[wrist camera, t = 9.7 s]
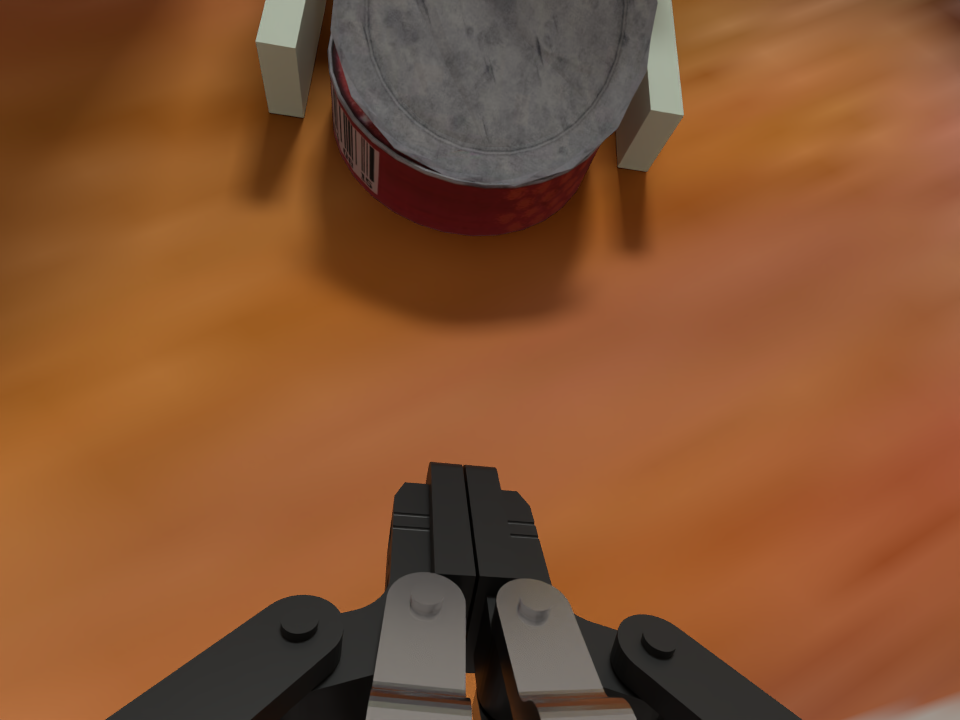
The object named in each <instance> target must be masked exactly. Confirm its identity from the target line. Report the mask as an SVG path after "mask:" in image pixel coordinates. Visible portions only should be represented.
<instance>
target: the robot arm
mask: <svg viewBox="0 0 960 720" xmlns="http://www.w3.org/2000/svg"><path fill="white" fill-rule="evenodd" d="M465 673H475V677H476V692H475V696H474V701H473V706H472V707H471V700H470V698H466V694H465ZM472 714H473V720H802V719H801V718H799V717H798V716H796V715H795V714H794V713H792V712H791V711H790V710H788V709H787V708H786V707H784V706H783V705H782V704H780V703H779V702H778V701H776V700H775V699H773V698H772V697H771V696H769V695H768V694H767V693H765V692H764V691H763V690H761V689H760V688H759V687H757V686H756V685H755V684H753V683H752V682H750V681H749V680H748V679H746V678H745V677H744V676H742V675H741V674H740V673H738V672H737V671H736V670H734V669H733V668H732V667H730V666H729V665H727V664H726V663H725V662H723V661H722V660H721V659H719V658H718V657H717V656H715V655H714V654H713V653H711V652H710V651H709V650H707V649H706V648H704V647H703V646H702V645H700V644H699V643H698V642H696V641H695V640H694V639H692V638H691V637H690V636H688V635H687V634H686V633H684V632H683V631H681V630H680V629H679V628H677V627H676V626H674V625H673V624H671V623H670V622H668V621H666V620H664V619H661V618H659V617H655V616H651V615H633V616H630V617H628V618H626V619H624V620H623V621H622V622H621V624H620V626H619V628H618V630H615V629H612V628H608V627H605V626H602V625H599V624H596V623H593V622H590V621H587V620H585V619H583V618H581V617H579V616H577V615H575V614H574V613H573V611H572V608H571V606H570V604H569V602H568V600H567V599H566V598H565V596H564V595H563V594H562V593H561V592H560V591H559V590H557V589H556V588H554V587H553V586H552V585H551V581H550V577H549V574H548V570H547V566H546V563H545V559H544V556H543V552H542V548H541V545H540V541H539V539H538V534H537V530H536V527H535V526H534V519H533V516H532V512H531V508H530V506H529V505H528V504H527V502H526V501H525V500H524V499H523V498H522V497H521V495H520V494H519V493H518V492H517V491H505V490H501V487H500V483H499V478H498V473H497V469H496V468H495V467H483V466H472V465H464V466H462V465H459V464H448V463H437V462H430V463H429V467H428V473H427V480H426V484H419V483H406V482H405V483H404V484H403V486H402V487H401V488H400V489H399V491H398V492H397V493H396V495H395V497H394V504H393V512H392V520H391V527H390V535H389V543H388V550H387V565H386V580H385V592H384V594H383V595H382V596H381V597H380V598H379V599H377V600H376V601H375V602H373V603H372V604H370V605H368V606H366V607H363V608H361V609H357V610H354V611H349V612H344V613H340V611H339V610H338V609H337V608H336V607H335V606H334V605H333V604H332V603H330V602H329V601H327V600H325V599H323V598H320V597H316V596H311V595H296V596H290V597H287V598H283V599H281V600H278V601H276V602H274V603H273V604H271V605H270V606H268V607H267V608H265V609H264V610H262V611H261V612H259V613H258V614H257V615H255V616H254V617H252V618H251V619H249V620H248V621H247V622H245V623H244V624H242V625H241V626H239V627H238V628H236V629H235V630H234V631H232V632H231V633H229V634H228V635H226V636H225V637H224V638H222V639H221V640H219V641H218V642H216V643H215V644H213V645H212V646H211V647H209V648H208V649H206V650H205V651H203V652H202V653H201V654H199V655H198V656H196V657H195V658H193V659H192V660H190V661H189V662H188V663H186V664H185V665H183V666H182V667H180V668H179V669H178V670H176V671H175V672H173V673H172V674H170V675H169V676H167V677H166V678H165V679H163V680H162V681H160V682H159V683H157V684H156V685H155V686H153V687H152V688H150V689H149V690H147V691H146V692H144V693H143V694H142V695H140V696H139V697H137V698H136V699H134V700H133V701H132V702H130V703H129V704H127V705H126V706H124V707H123V708H121V709H120V710H119V711H117V712H116V713H114V714H113V715H111V716H110V717H109V718H107V719H106V720H472Z"/></svg>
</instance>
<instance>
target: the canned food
mask: <svg viewBox="0 0 960 720" xmlns="http://www.w3.org/2000/svg"><path fill="white" fill-rule="evenodd" d="M657 4H658V2H657V0H333V10H332V20H331V29H330V30H331V35H330V40H329V46H328V63H329V74H330V79H331V96H332V112H333V113H332V114H333V126H334V136H335V139H336V142H337V145H338V147H339V150H340V153H341V156H342V158H343V160H344V161H345V163H346V164H347V166H348V168H349V169H350V171H351V173H352V174H353V176H354V177H355V178H356V179H357V181H358V182H359V183H360V184H361V185H362V186H363V187H364V188H365V189H366V190H367V191H368V192H369V193H370V195H371V196H373V197H374V198H375V199H377V200H378V201H379V202H381V203H382V204H383V205H385V206H386V207H388V208H389V209H390V210H392V211H393V212H395V213H397V214H399V215H401V216H403V217H405V218H407V219H409V220H411V221H413V222H415V223H417V224H419V225H422V226H426V227H429V228H432V229H435V230H439V231H442V232H446V233H453V234H460V235H468V236H488V235H501V234H506V233H510V232H515V231H520V230H524V229H526V228H528V227H530V226H533V225H535V224H537V223H540V222H542V221H544V220H546V219H547V218H549V217H550V216H551V215H553V214H554V213H556V212H557V211H558V210H560V209H561V208H563V206H564V205H565V204H566V203H567V202H568V201H569V199H570V198H571V197H572V196H573V195H574V194H575V193H576V191H577V189H578V187H579V185H580V183H581V181H582V179H583V177H584V175H585V173H586V172H587V170H588V168H589V166H590V164H591V162H592V160H593V158H594V156H595V154H596V152H597V150H598V148H599V146H600V145H601V144H602V142H603V141H604V140H605V139H606V138H607V137H609V136H610V135H611V134H612V133H613V132H614V131H616V130H617V129H618V127H619V125H620V123H621V121H622V119H623V117H624V115H625V112H626V110H627V108H628V106H629V104H630V102H631V100H632V98H633V96H634V94H635V92H636V91H637V89H638V87H639V85H640V83H641V81H642V79H643V78H644V76H645V74H646V72H647V65H648V57H649V49H650V41H651V35H652V30H653V24H654V19H655V14H656V9H657Z"/></svg>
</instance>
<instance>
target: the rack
mask: <svg viewBox="0 0 960 720" xmlns="http://www.w3.org/2000/svg"><path fill="white" fill-rule="evenodd" d="M326 1H327V0H266V1H265V5H264V9H263V13H262V17H261V22H260V26H259V30H258V34H257V38H256V46H257V51H258V57H259V62H260V67H261V72H262V78H263V83H264V88H265V93H266V99H267V104H268V109H269V113H276V114H282V115H289V116H295V117H301V118H304V115H305V109H306V104H307V99H308V94H309V89H310V83H311V78H312V73H313V68H314V63H315V58H316V52H317V47H318V42H319V37H320V32H321V27H322V21H323V16H324V11H325V6H326ZM657 2H658V4H657V9H656V14H655V19H654V24H653V30H652V35H651V41H650V49H649V57H648V65H647V72H646V74H645V76H644V78H643V79H642V81H641V83H640V85H639V87H638V89H637V91H636V92H635V94H634V96H633V98H632V100H631V102H630V104H629V106H628V108H627V110H626V112H625V115H624V117H623V119H622V121H621V123H620V125H619V127H618V129H617V130H616V147H617V166H618V167H619V168H626V169H632V170H638V171H645V172H647V171H648V169H649V168H650V166H651V165H652V163H653V162H654V160H655V159H656V157H657V156H658V154H659V153H660V151H661V150H662V148H663V147H664V145H665V144H666V142H667V140H668V139H669V137H670V136H671V134H672V133H673V131H674V130H675V128H676V127H677V125H678V124H679V122H680V121H681V119H682V118H683V116H684V112H683V103H682V94H681V85H680V76H679V66H678V57H677V48H676V39H675V29H674V20H673V11H672V2H671V0H657Z"/></svg>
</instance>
